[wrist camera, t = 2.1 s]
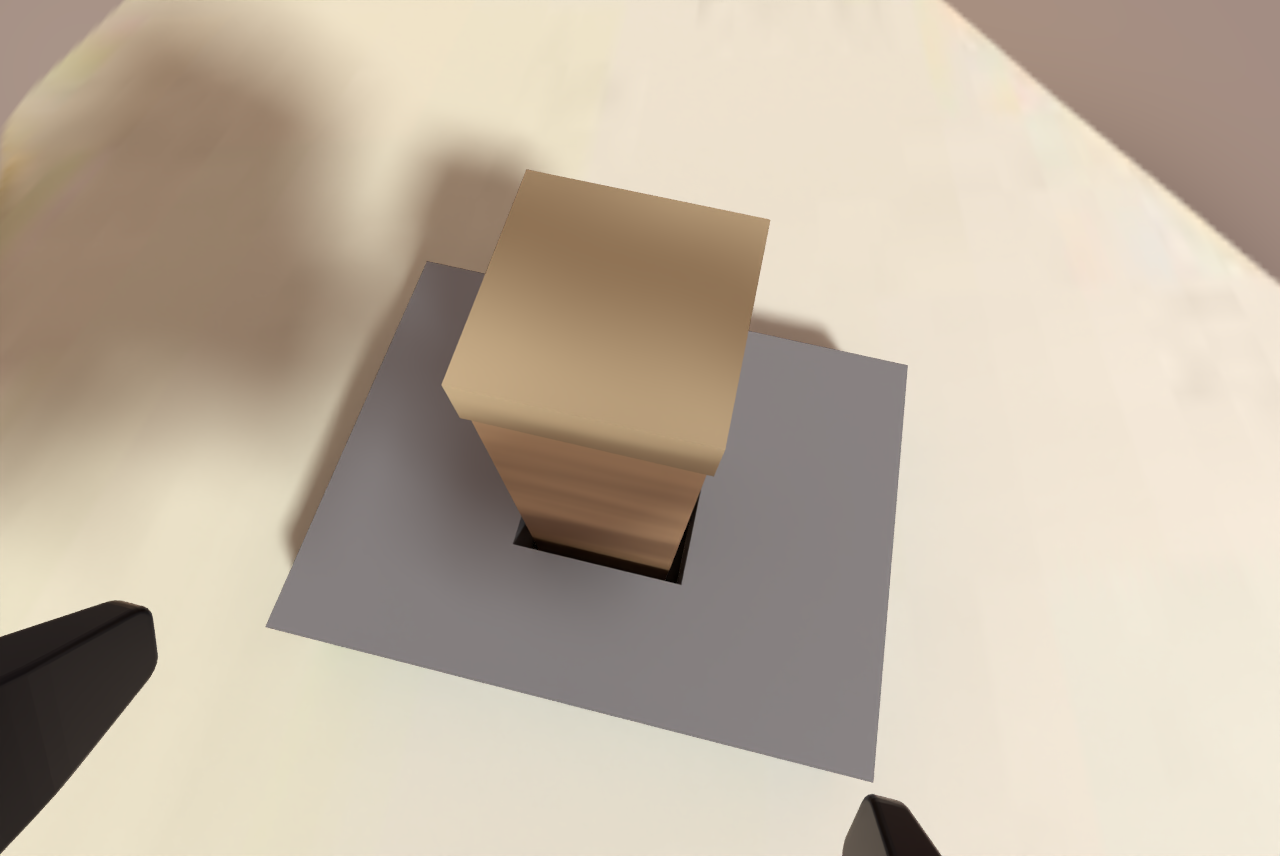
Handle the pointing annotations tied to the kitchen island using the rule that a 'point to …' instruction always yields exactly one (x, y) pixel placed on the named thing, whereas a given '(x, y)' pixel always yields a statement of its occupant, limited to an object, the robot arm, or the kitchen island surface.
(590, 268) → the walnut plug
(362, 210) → the kitchen island surface
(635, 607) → the socket board
